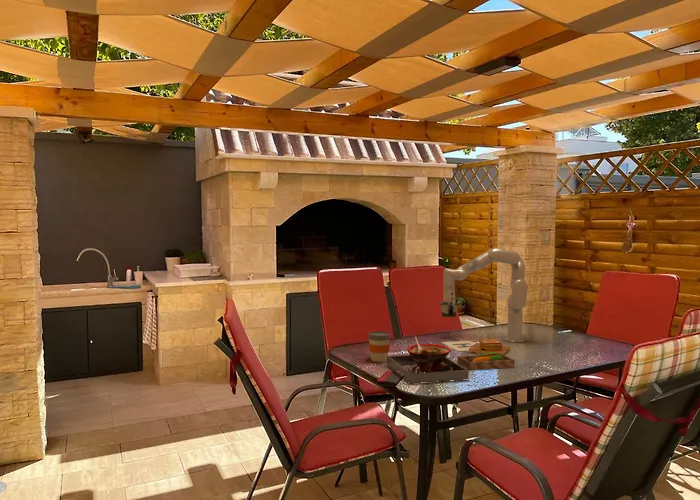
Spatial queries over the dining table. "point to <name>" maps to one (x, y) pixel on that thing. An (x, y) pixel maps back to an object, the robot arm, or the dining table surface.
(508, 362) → the tray
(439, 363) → the stew
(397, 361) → the dark grey tray
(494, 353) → the corn
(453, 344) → the letter board
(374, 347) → the reusable coffee cup
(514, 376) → the dining table surface
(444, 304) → the food container
